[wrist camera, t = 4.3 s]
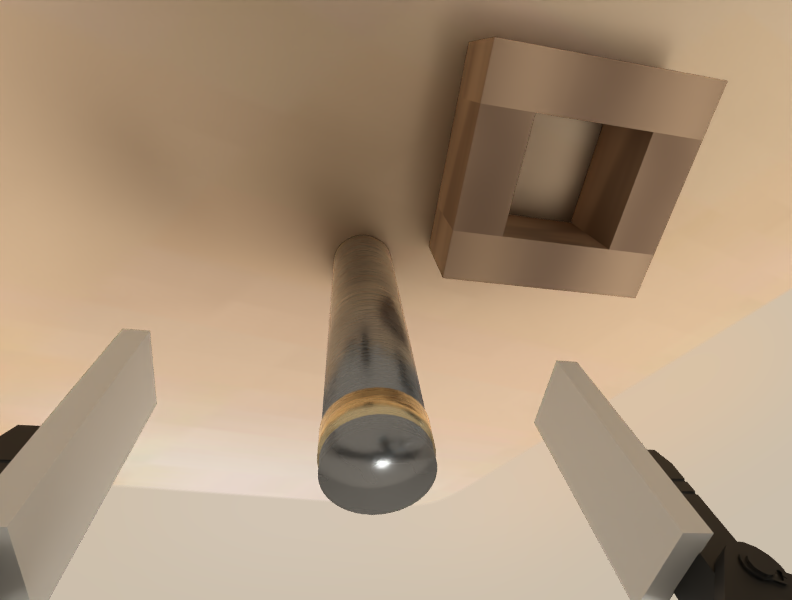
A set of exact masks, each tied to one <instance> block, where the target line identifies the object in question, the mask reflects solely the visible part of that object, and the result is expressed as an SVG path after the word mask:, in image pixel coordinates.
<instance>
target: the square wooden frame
mask: <svg viewBox="0 0 792 600" xmlns="http://www.w3.org/2000/svg"><path fill="white" fill-rule="evenodd" d="M726 84H727V81H726V80H720V79H715V78H710V77H705V76H699V75H694V74H689V73H683V72H678V71H673V70H668V69H662V68H657V67H652V66H646V65H641V64H636V63H631V62H625V61H620V60H615V59H609V58H604V57H599V56H594V55H588V54H583V53H578V52H572V51H567V50H562V49H557V48H551V47H546V46H541V45H535V44H530V43H525V42H520V41H514V40H509V39H504V38H498V37H492V38H487V39H482V40H477V41H472V42H469V44H468V49H467V54H466V59H465V64H464V69H463V74H462V80H461V85H460V90H459V95H458V100H457V105H456V110H455V115H454V121H453V126H452V131H451V136H450V141H449V146H448V151H447V157H446V162H445V167H444V172H443V177H442V182H441V187H440V192H439V198H438V203H437V208H436V213H435V218H434V223H433V228H432V234H431V239H430V244H429V248H430V250H431V252H432V254H433V257H434V259H435V261H436V263H437V266H438V268H439V270H440V272H441V275H442V277H443V278H448V279H458V280H467V281H477V282H486V283H496V284H505V285H515V286H524V287H534V288H543V289H553V290H562V291H572V292H581V293H591V294H600V295H610V296H619V297H629V298H636V296H637V293H638V291H639V289H640V286H641V284H642V281H643V279H644V277H645V274H646V272H647V270H648V267H649V265H650V263H651V260H652V258H653V256H654V253H655V251H656V248H657V246H658V244H659V241H660V239H661V237H662V234H663V232H664V230H665V227H666V225H667V223H668V220H669V218H670V216H671V213H672V211H673V208H674V206H675V204H676V201H677V199H678V197H679V194H680V192H681V190H682V187H683V185H684V183H685V180H686V178H687V175H688V173H689V171H690V168H691V166H692V164H693V161H694V159H695V157H696V154H697V152H698V150H699V147H700V145H701V143H702V140H703V138H704V135H705V133H706V131H707V128H708V126H709V124H710V121H711V119H712V117H713V114H714V112H715V110H716V107H717V105H718V102H719V100H720V98H721V95H722V93H723V91H724V88H725V86H726ZM535 113H541V114H547V115H553V116H559V117H565V118H571V119H577V120H583V121H589V122H595V123H601V124H603V126H602V129H601V132H600V135H599V138H598V142H597V145H596V148H595V151H594V154H593V157H592V160H591V163H590V166H589V169H588V172H587V175H586V178H585V181H584V184H583V187H582V190H581V193H580V196H579V199H578V202H577V205H576V208H575V211H574V214H573V217H572V220H571V222H563V221H555V220H548V219H540V218H532V217H524V216H517V215H509V211H510V207H511V203H512V200H513V196H514V192H515V188H516V185H517V181H518V177H519V173H520V170H521V166H522V162H523V158H524V155H525V151H526V147H527V143H528V140H529V136H530V132H531V128H532V125H533V121H534V117H535Z"/></svg>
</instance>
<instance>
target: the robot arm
mask: <svg viewBox="0 0 792 600" xmlns="http://www.w3.org/2000/svg"><path fill="white" fill-rule="evenodd" d="M156 404H157V402H156V391H155V380H154V369H153V358H152V347H151V336H150V331H146V330H133V329H122V330H121V331H120V332H119V333H118V335H117V336H116V337H115V338H114V339H113V341H112V342H111V343H110V344H109V345H108V346H107V348H106V349H105V350H104V351H103V352H102V354H101V355H100V356H99V357H98V358H97V360H96V361H95V362H94V363H93V364H92V366H91V367H90V368H89V369H88V370H87V371H86V373H85V374H84V375H83V376H82V377H81V379H80V380H79V381H78V382H77V383H76V385H75V386H74V387H73V388H72V389H71V390H70V392H69V393H68V394H67V395H66V396H65V398H64V399H63V400H62V401H61V402H60V404H59V405H58V406H57V407H56V408H55V410H54V411H53V412H52V413H51V414H50V415H49V417H48V418H47V419H46V420H45V421H44V423H43V424H42V425H41V426H29V425H17V426H16V427H14V428H12V429H11V430H9V431H8V432H6V433H4V434H3V435H1V436H0V600H49V598H50V597H51V595H52V593H53V591H54V589H55V587H56V586H57V584H58V582H59V580H60V578H61V577H62V575H63V573H64V571H65V569H66V568H67V566H68V564H69V562H70V560H71V558H72V557H73V555H74V553H75V551H76V549H77V548H78V546H79V544H80V542H81V540H82V538H83V537H84V535H85V533H86V531H87V529H88V527H89V526H90V524H91V522H92V520H93V519H94V517H95V515H96V513H97V511H98V509H99V508H100V506H101V504H102V502H103V500H104V499H105V497H106V495H107V493H108V491H109V489H110V488H111V486H112V484H113V482H114V480H115V479H116V477H117V475H118V473H119V471H120V469H121V468H122V466H123V464H124V462H125V460H126V459H127V457H128V455H129V453H130V451H131V450H132V448H133V446H134V444H135V442H136V440H137V439H138V437H139V435H140V433H141V431H142V430H143V428H144V426H145V424H146V422H147V420H148V419H149V417H150V415H151V413H152V411H153V410H154V408H155V406H156ZM534 423H535V425H536V427H537V429H538V431H539V432H540V434H541V436H542V438H543V440H544V442H545V443H546V445H547V447H548V449H549V451H550V453H551V455H552V456H553V458H554V460H555V462H556V464H557V465H558V468H559V469H560V471H561V473H562V475H563V477H564V478H565V480H566V482H567V484H568V486H569V488H570V489H571V491H572V493H573V495H574V497H575V499H576V501H577V502H578V504H579V506H580V508H581V510H582V512H583V514H584V515H585V517H586V519H587V521H588V523H589V525H590V527H591V528H592V530H593V532H594V534H595V536H596V538H597V539H598V541H599V543H600V545H601V547H602V549H603V551H604V552H605V554H606V556H607V558H608V560H609V561H610V563H611V565H612V567H613V569H614V571H615V573H616V574H617V576H618V578H619V580H620V582H621V584H622V586H623V587H624V589H625V591H626V593H627V595H628V597H629V598H630V600H670V598H671V597H672V595H673V594H675V595H676V597H677V598H678V600H792V574H789V573H786V572H785V571H784V569H783V568H782V567H781V566H780V565H779V564H778V563H777V562H776V561H775V560H774V559H773V558H771V557H770V556H769V555H768V554H766V553H764V552H763V551H761V550H760V549H758V548H756V547H754V546H752V545H749V544H746V543H744V542H737V541H736V540H735V539H734V538H733V536H732V535H731V534H730V533H729V532H728V531H727V529H726V528H725V527H724V526H723V524H722V523H721V522H720V521H719V520H718V518H717V517H716V516H715V515H714V514H713V512H712V511H711V510H710V509H709V508H708V506H707V505H706V504H705V503H704V502H703V500H702V499H701V498H700V497H699V496H698V495H696V494H695V491H694V490H693V488H692V487H691V486H690V485H689V484H688V483H687V482H685V481H684V478H683V476H682V475H681V474H680V473H679V472H678V470H677V469H676V468H675V467H674V466H673V464H672V463H670V462H669V461H668V460H666V459H665V458H664V457H663V456H661V455H660V454H659V453H657V452H656V451H655V450H647V449H646V448H645V447H644V445H643V444H642V443H641V442H640V441H639V439H638V438H637V437H636V435H635V434H634V433H633V432H632V430H630V428H629V427H628V425H627V424H626V423H625V422H624V420H623V419H622V418H621V417H620V415H619V414H618V413H617V412H616V410H615V409H614V408H613V407H612V405H611V404H610V403H609V402H608V400H607V399H606V398H605V397H604V395H603V394H602V393H601V392H600V390H599V389H598V388H597V387H596V385H595V384H594V383H593V382H592V380H591V379H590V378H589V377H588V375H587V374H586V373H585V372H584V370H583V369H582V368H581V367H580V365H579V364H578V363H577V362H569V361H556V363H555V366H554V369H553V372H552V374H551V377H550V380H549V383H548V386H547V388H546V391H545V394H544V397H543V399H542V402H541V405H540V408H539V410H538V413H537V416H536V419H535V422H534Z"/></svg>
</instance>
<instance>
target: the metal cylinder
mask: <svg viewBox="0 0 792 600" xmlns="http://www.w3.org/2000/svg"><path fill="white" fill-rule="evenodd" d="M317 463H318V480H319V484H320V487H321V489H322V491H323V493H324V494H325V495H326V496H327V498H328V499H329V500H331V501H332V502H333V503H334V504H336V505H337V506H339V507H341V508H343V509H346V510H348V511H351V512H355V513H360V514H369V515H375V514H386V513H391V512H395V511H398V510H401V509H404V508H406V507H408V506H410V505H412V504H414V503H415V502H417V501H418V500H419V499H421V498H422V497H423V496H424V495H425V494H426V493H427V492H428V491H429V489H430V488H431V486H432V485H433V483H434V481H435V478H436V474H437V462H436V449H435V444H434V440H433V435H432V431H431V426H430V422H429V418H428V415H427V413H426V411H425V408H424V403H423V399H422V394H421V390H420V385H419V381H418V376H417V372H416V367H415V363H414V358H413V354H412V349H411V345H410V340H409V336H408V331H407V327H406V322H405V318H404V313H403V309H402V304H401V300H400V295H399V291H398V286H397V282H396V277H395V273H394V268H393V264H392V259H391V255H390V252H389V250H388V248H387V247H386V246H385V245H384V244H383V243H382V242H381V241H380V240H378V239H376V238H374V237H371V236H366V235H360V236H354V237H351V238H349V239H347V240H346V241H344V242H343V243H342V244H341V245H340V246H339V248H338V249H337V251H336V253H335V256H334V265H333V279H332V292H331V306H330V319H329V333H328V346H327V360H326V373H325V387H324V400H323V414H322V421H321V424H320V429H319V442H318V454H317Z"/></svg>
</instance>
